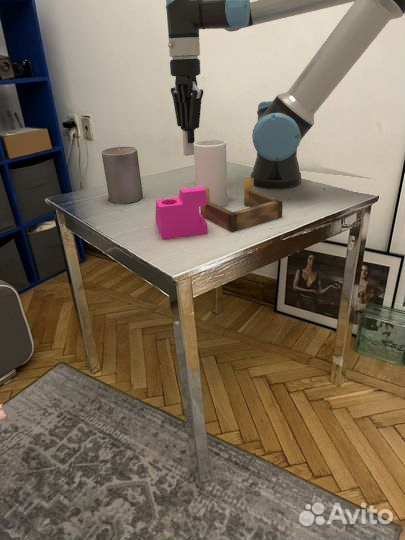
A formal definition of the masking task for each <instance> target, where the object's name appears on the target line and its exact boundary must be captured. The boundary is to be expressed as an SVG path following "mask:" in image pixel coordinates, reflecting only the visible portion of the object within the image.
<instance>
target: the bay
mask: <svg viewBox="0 0 405 540" xmlns="http://www.w3.org/2000/svg"><path fill="white" fill-rule="evenodd" d="M254 186H255V185H254V178H251V176H249V177H245V178H244V179H243V191H244V192H243V205H244V206H245V207H247V208H244V209H239V210H235V211H231V210H230V209H227V208H225V207H224V206H222V207H221V206H219V205H217V204H214V203H212V202H210V192H209V188H205V189H206V203H207V205H206V206H200V207H199V212H200V213H201V215H202V217H203V218H204V219H205V220H208V221H210V222H211V223H213V224H215V225H217V226H219V227H221V228H223V229H225V230H227V231H229V232H231V233H234V232H237V231H239V230H240V231H241V230H243V229H247V228H250V227H253V226H257V225H260V224H264V223H266V222H270V221H274V220H277V219H281V218H282V217H283V207H284V203H283V202H284V201H283V200H280V199H279V198H276V197H272V196H270V195H267V194H264V193H261V192H259V191H256V190H254V188H255V187H254Z"/></svg>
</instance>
